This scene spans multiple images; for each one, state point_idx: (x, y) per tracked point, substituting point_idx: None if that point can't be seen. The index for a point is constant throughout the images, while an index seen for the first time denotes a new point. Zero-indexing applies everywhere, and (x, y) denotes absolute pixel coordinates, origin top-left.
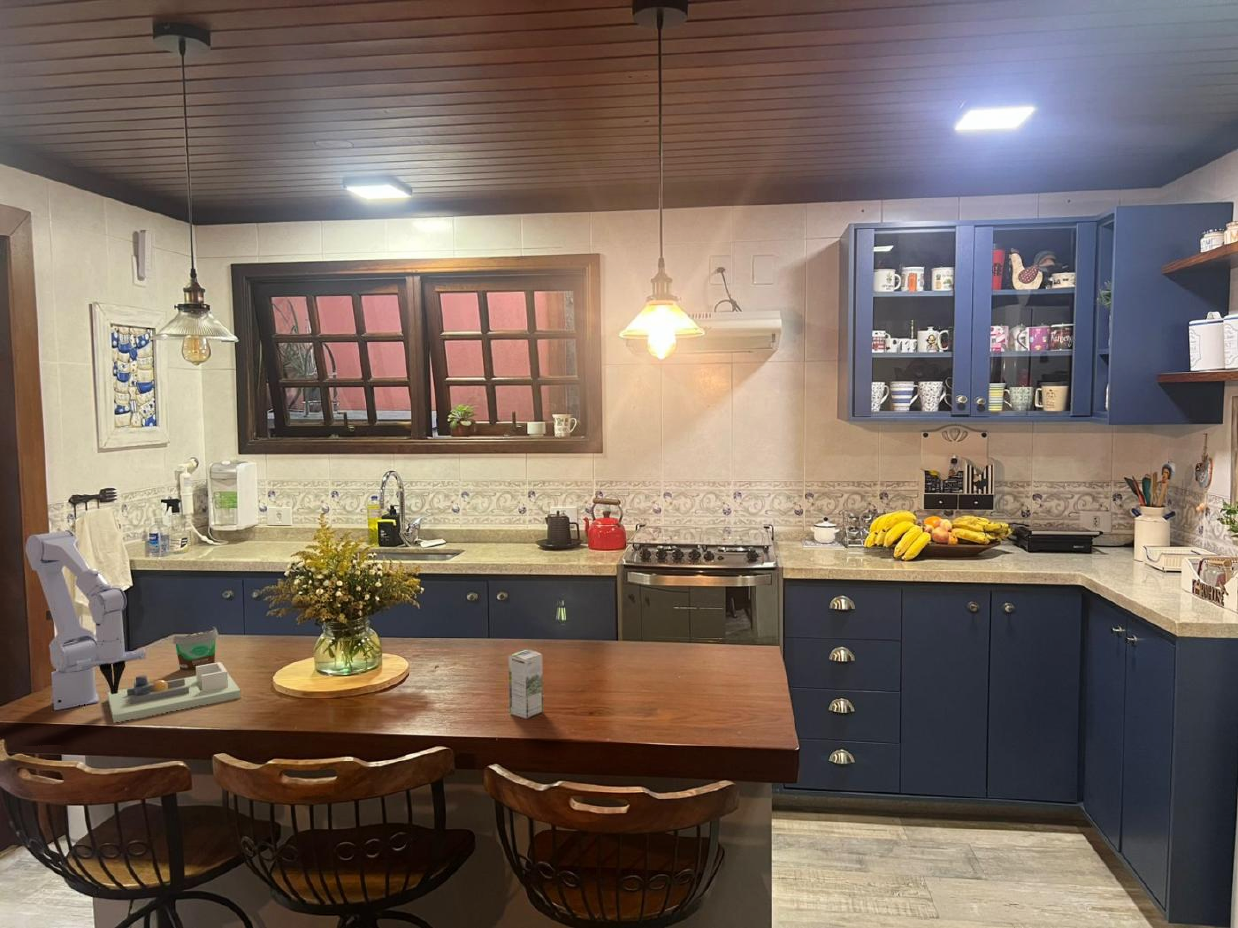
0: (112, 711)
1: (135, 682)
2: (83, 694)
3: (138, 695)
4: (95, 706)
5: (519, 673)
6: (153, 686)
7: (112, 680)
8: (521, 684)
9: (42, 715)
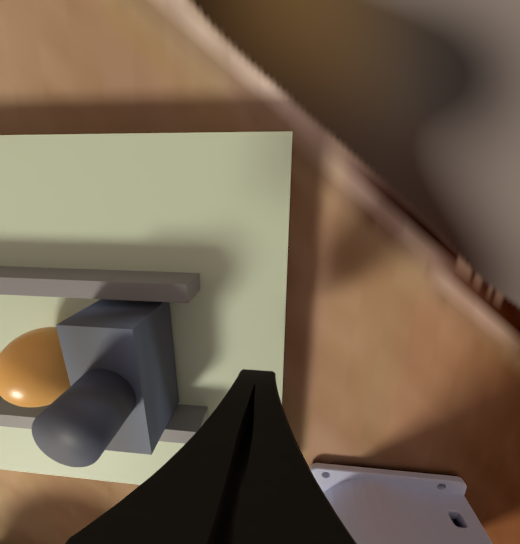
0: (287, 214)
1: (143, 453)
2: (370, 517)
3: (145, 309)
4: (326, 428)
5: None
6: (63, 364)
7: (254, 438)
8: None
9: (510, 456)
